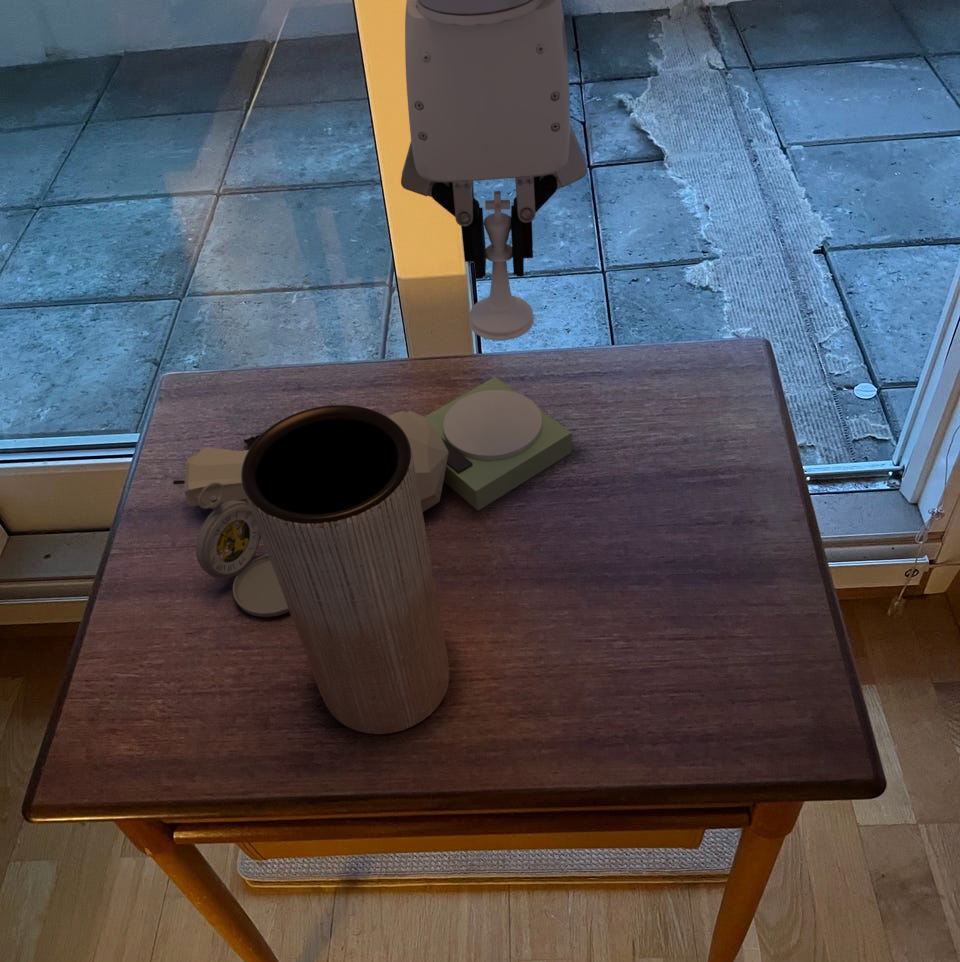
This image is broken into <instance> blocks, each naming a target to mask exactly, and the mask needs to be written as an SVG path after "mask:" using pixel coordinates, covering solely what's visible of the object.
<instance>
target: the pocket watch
mask: <svg viewBox="0 0 960 962" xmlns="http://www.w3.org/2000/svg"><path fill="white" fill-rule="evenodd" d="M211 486H219V487H220V489H221V492H220V496H219V497H216V496H212V497H210V500H211V501H210V503H209V506H204V505H202V503H201V498H202V496H203V493H204V492H205V491H206V490H207V489H208V488H210V487H211ZM223 493H224V488H223V485H222V484H221V483H218V482H215V483H211V484H209V485H207V486H206V487H205V488H204V489H203V490H202V491H201V493H200V495H199V499H198V504H199V506H198V507H199V508H201V509H203V510H209V509H210V510H212V511H211V512H210V513H209V515H208V516H207V517H206V519H205V520H204V522H203V523H202V525H201V528H200V529H199V532H198V535H197V538H196V545H195V553H196V554H195V555H196V559H197V563H198V565H199V566H200V568H201V569H202V570H203V571H204V572H205V573H206V574H207V575H208V576H211V577H212V578H214V579H229V578H232V577H235V578H234V581H233V584H232V594H233V598H234V600H235V602H236V604H237V605H238V607H239V608H240V609H241V610H242V611H244V612H245V613H247V614H249V615H251V616H255V617H260V618H261V617H262V618H269V617H270V618H271V617H278V616H281V615H284V614H288V613H290V612H289V609H288V606H287V604H286V601H285V598H284V596H283V593H282V591H281V588H280V585H279V583H278V580H277V577H276V575H275V572H274V569H273V567H272V564H271V561H270V559H269V556H268V554H267V553H266V554H263V555H261V556H258V557H256V558H254V556H255V555H256V552H257V551H258V548H259V545H260V542H261V540H262V538H261V535H260V532H259V530H258V527H257V524H256V522H255V519H254V517H253V514H252V511H251V509H250V506H249V503H248V502H244V501H234V500H233V501H229V502H225V503H224V504H222V505H221V503H222V496H223ZM236 522H237V523H236ZM226 549H227V550H228V551H227V552H225V550H226ZM222 555H223V557H221V556H222Z"/></svg>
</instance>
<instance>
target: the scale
mask: <svg viewBox="0 0 960 962" xmlns="http://www.w3.org/2000/svg"><path fill="white" fill-rule="evenodd" d="M424 417H426V418H427V420H428V421H429V422H430V423H431V424H432V425H433V426H434V427H435V428H436V430H437V431H438V433H439V435H440V437H441V439H442V441H443V442H444V444H445V446H446V448H447V450H448V452H449V453H448V459H447V464H446V470H445V475H444V481H443V483H445V484H446V485H447V486H448V487H450V488H451V490H453V492H455V493H457V495H458V496H459V497H461V498H462V499H463V500H464V501H466V502H467V503H468V504H469V505H470V506H472V508H474V509H475V510H476V511H480V510H482V509H483V508H485V507H487V506H489V505H490V504H491V503H493V502H494V501H496V500H498V499H499V498H501V497H503V496H504V495H506V494H508V493H509V492H511V491H512V490H514V489H516V488H517V487H519V486H520V485H522V484H523V483H525V482H527V481H528V480H530V479H532V478H533V477H535V476H536V475H538V474H539V473H541V472H543V471H544V470H547V469H548V468H549V467H551V466H553V465H554V464H555V463H557V462H559V461H560V460H562V459H564V458H565V457H567V456H569V455H570V454H572V453H573V432H572V431H570V430H569V429H568V428H567V427H565V426H563V424H561V423H560V422H558V421H556V420H555V419H554V418H553V417H551V416H550V415H549V414H547V413H546V412H545V411H543V410H542V409H540V408H539V406H538V405H537V404H536V403H535V402H534V401H533V400H531V399H530V398H529V397H527V396H525V395H523V394H521V393H519V392H517V391H516V390H514V389H513V388H511V387H510V386H509V385H508V384H506V383H505V382H503V381H502V380H501V379H499V378H498V377H496V376H494V377H492V378H490V379H488V380H486V381H484V382H483V383H481V384H480V385H478V386H476V387H474V388H471V390H469V391H467V392H465V393H463V394H462V395H460V396H459V397H457V398H455V399H453V400H451V401H450V402H447V403H446V404H444V405H443V406H440V407H439V408H437V409H435V410H434V411H432V412H429V413H428V414H427V415H425V416H424Z"/></svg>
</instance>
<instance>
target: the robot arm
mask: <svg viewBox="0 0 960 962" xmlns="http://www.w3.org/2000/svg"><path fill="white" fill-rule="evenodd" d="M404 16H405V17H404V18H405V19H404V52H405V53H404V55H405V56H404V58H405V61H404V62H405V81H406V96H407V109H408V122H409V123H408V124H409V133H410V142H409V146H408V149H407V153H406V157H405V161H404V164H403V168H402V171H401V178H400V185H401V187H402V188H403V189H404V190H407V191H410V192H412V193H415V194H418V195H421V196H424V197H429V198H432V200H433V201H435V202H436V203H437V204H438V205H440V206H441V207H442V208H443V209H445V211H447V212H448V213H449V214H451V215H452V217H454V218H455V222H456V223H457V225H459V227H461V235H462V236H461V237H462V246H463V255H464V256H463V257H464V262H465V263H470V262H473V266H474V279H475V280H481V279H483V278H484V277H486V271H487V270H486V269H487V259H486V258H485V249H486V248H487V246H486V235H485V226H484V210H483V207H481V206H480V203H479V201H478V200H477V199H476V198H475V187H474V182H476V181H477V182H478V181H494V180H507V179H514V182H515V183H514V184H515V194H516V195H515V197H514V198H513V205H510V217H511V230H510V234H511V247H512V253H513V257H512V269H513V271H512V272H513V276H515V275H516V278H517V277H518V278H519V277H524V276H525V274H524V273H525V271H524V270H525V266H524V265H525V260H524V259H534V243H533V242H534V241H533V221H534V220H535V218H536V213H537V212H538V211H539V210H540V209H541V208H542V207H543V206H545V204H546V203H547V202H548V201H549V200H550V199H551V198H552V197H553V195H554V194H555V193H556V192H557V190H559V189H563V188H566V187H568V186H570V185H571V184H573V183H575V182H577V181H580V180H582V179H583V178H585V177H586V176H587V173H588V165H587V164H588V163H587V159H586V156H585V154H584V152H583V149H582V147H581V144H580V143H579V141H578V138H577V135H576V133H575V131H574V129H573V127H572V125H571V103H570V102H571V100H570V99H571V97H570V77H569V60H568V43H567V34H566V25H565V23H566V22H565V18H564V9H563V5H562V0H406V2H405V15H404Z"/></svg>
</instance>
